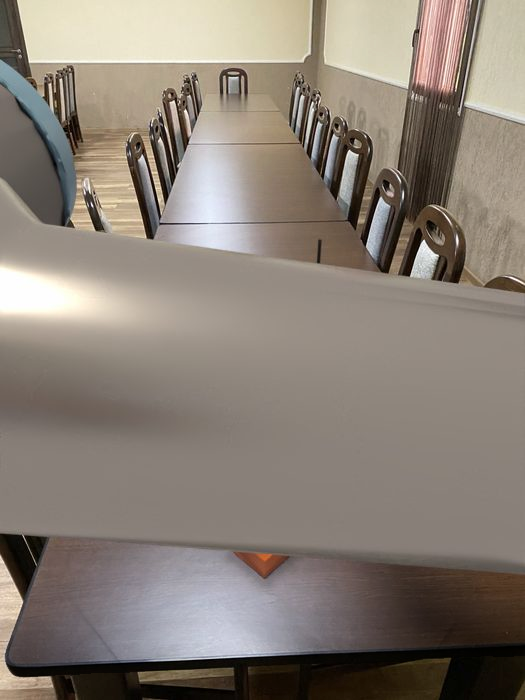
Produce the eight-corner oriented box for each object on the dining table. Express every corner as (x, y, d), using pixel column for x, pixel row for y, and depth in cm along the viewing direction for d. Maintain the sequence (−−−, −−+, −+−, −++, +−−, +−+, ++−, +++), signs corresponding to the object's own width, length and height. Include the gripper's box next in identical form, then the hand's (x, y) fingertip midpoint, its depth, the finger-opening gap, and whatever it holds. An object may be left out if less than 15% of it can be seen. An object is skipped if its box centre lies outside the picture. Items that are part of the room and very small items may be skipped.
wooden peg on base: (310, 537, 65) (316, 456, 58) (264, 578, 60) (265, 496, 53) (279, 514, 68) (282, 435, 61) (233, 552, 63) (231, 470, 56)
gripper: (515, 631, 32) (232, 560, 44) (546, 353, 48) (331, 355, 60) (498, 565, 28) (191, 506, 40) (538, 285, 44) (309, 302, 56)
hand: (274, 416), depth 50 cm, fingers open, 13 cm apart
